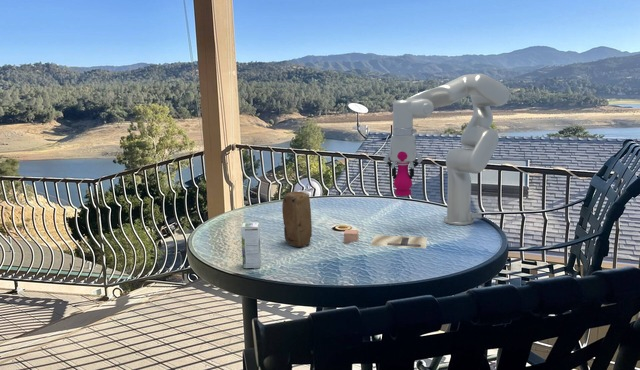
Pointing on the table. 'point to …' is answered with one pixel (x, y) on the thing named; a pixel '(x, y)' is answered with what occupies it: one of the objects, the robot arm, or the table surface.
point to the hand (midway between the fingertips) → (402, 177)
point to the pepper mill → (402, 177)
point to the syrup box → (251, 245)
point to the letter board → (399, 241)
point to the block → (297, 218)
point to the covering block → (350, 236)
